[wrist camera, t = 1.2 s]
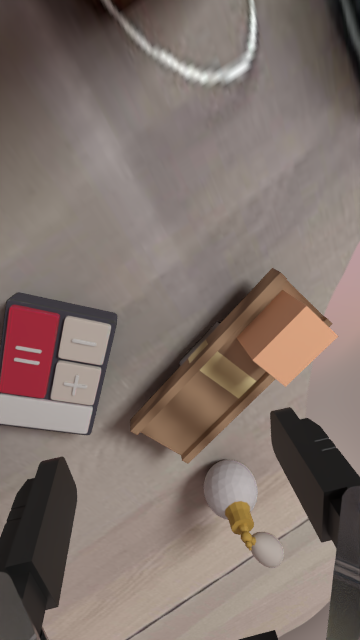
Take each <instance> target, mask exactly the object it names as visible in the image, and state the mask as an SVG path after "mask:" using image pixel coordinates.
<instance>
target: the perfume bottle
mask: <svg viewBox="0 0 360 640" xmlns="http://www.w3.org/2000/svg"><path fill="white" fill-rule="evenodd" d="M257 493H258V490H257V484H256V481H255V478H254V476H253V474H252V473H251V471H250V470H249V469H248V468H247V467H246V466H245V465H244V464H242V463H240V462H238V461H235V460H223V461H219V462H218V463H216V464H214V465H213V466H212V467H211V468H210V470H209V471H208V472H207V475H206V477H205V481H204V496H205V498H206V501H207V504H208V505H209V507H210V508H211V509H212V511H213V512H214V513H216V514H217V515H218V516H220V517H222V518H224V519H228V520H229V523H230V526H231V529H232V531H233V532H234V533H235V534H239V535H240V534H241V539H242V541H243V542H244V543H245V544H246V547H247V548H249V550H251V552H252V554H253V555H254V557H255V558H256V559H257V560H258V561H259V562H260V563H261V564H263V565H264V566H266V567H269V568H275V567H277V566H279V565H280V564H281V563H282V561H283V558H284V550H283V546H282V544H281V542H280V541H279V540H278V539H277V538H276V537H275V536H274V535H272V534H270V533H267V532H257V533H255V534H253V535H252V536H251V534H250V533H249V531H251V529H252V528H253V527H254V522H253V519H252V517H251V514H250V512H251V511H252V510H253V508H254V506H255V503H256V501H257Z"/></svg>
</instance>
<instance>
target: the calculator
mask: <svg viewBox="0 0 360 640" xmlns="http://www.w3.org/2000/svg"><path fill="white" fill-rule="evenodd" d="M116 325H117V314H115V313H113V312H108V311H103V310H99V309H94V308H89V307H85V306H80V305H75V304H71V303H66V302H61V301H57V300H52V299H47V298H43V297H38V296H33V295H29V294H24V293H16V294H15V295H13V296H12V297H11V298H9V299H8V300H7V302H6V309H5V317H4V325H3V333H2V341H1V350H0V425H7V426H15V427H23V428H31V429H40V430H48V431H56V432H64V433H72V434H81V435H90V434H91V432H92V428H93V423H94V419H95V415H96V411H97V406H98V402H99V398H100V393H101V389H102V385H103V381H104V376H105V372H106V368H107V363H108V359H109V355H110V351H111V346H112V342H113V338H114V333H115V329H116Z"/></svg>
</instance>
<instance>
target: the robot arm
mask: <svg viewBox="0 0 360 640" xmlns="http://www.w3.org/2000/svg"><path fill="white" fill-rule="evenodd" d="M270 419H271V440H272V446H273V450H274V453H275V455H276V457H277V459H278V461H279V463H280V465H281V467H282V469H283V471H284V473H285V474H286V476H287V478H288V480H289V482H290V484H291V486H292V488H293V490H294V491H295V493H296V495H297V497H298V499H299V501H300V503H301V505H302V507H303V509H304V510H305V512H306V514H307V516H308V518H309V520H310V522H311V524H312V526H313V527H314V529H315V531H316V533H317V535H318V537H319V539H320V541H321V543H322V542H326V541H330V540H332V541H333V543H334V545H335V547H336V548H337V550H336V559H335V565H334V573H333V583H332V592H331V601H330V610H329V620H328V629H327V638H326V640H360V477H359V476H358V474H357V473H356V472H355V470H354V469H353V468H352V467H351V465H350V464H349V463H348V461H347V460H346V459H345V458H344V456H343V455H342V454H341V452H340V451H339V450H338V449H337V448H336V446H335V445H334V443H333V442H332V441H331V440H330V439H329V437H328V436H327V434H326V433H325V432H324V431H323V429H322V428H321V427H320V426H319V425H317V424H316V423H315V422H313V421H311V420H310V419H308V418H305V419H299V418H298V416H297V415H296V414H295V412H294V411H293V410H292V408H290V407H289V408H284V409H280V410H275V411H271V413H270ZM76 504H77V489H76V485H75V482H74V480H73V477H72V475H71V472H70V470H69V468H68V465H67V463H66V460H65V458H64V457H58V458H54V459H49V460H45V461H42V462H41V463H40V464H39V467H38V470H37V473H36V476H35V478H33V479H28V480H27V481H26V482H25V484H24V485H23V486H22V488H21V489H20V490H19V491H18V493H17V495H16V497H15V500H14V502H13V505H12V508H11V511H10V513H9V516H8V518H7V524H5V526H4V529H3V532H2V534H1V537H0V640H49V639H48V637H47V635H46V633H45V631H44V629H43V627H42V623H43V619H44V614H45V610H48V609H52V608H56V607H58V605H59V599H60V593H61V588H62V582H63V577H64V571H65V565H66V560H67V554H68V549H69V543H70V537H71V532H72V526H73V521H74V515H75V509H76ZM239 640H278V638H277V635H276V632H275V630H273V631H269V632H266V633H262V634H258V635H254V636H251V637H247V638H243V639H239Z"/></svg>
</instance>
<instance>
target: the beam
mask: <svg viewBox="0 0 360 640" xmlns="http://www.w3.org/2000/svg"><path fill="white" fill-rule="evenodd" d="M286 279H287V278H286V277H285V276H284V275H283V274H282V273H281V272H279V271H277V270H275V269H273V268H272V269H271V270H270V271H269V272H268V273H267V274H266V275H265V276H264V277H263V279H262V280H261V281H260V282H259V283H258V284H257V285H256V286H255V287H254V288H253V289H252V290H251V291H250V292H249V294H248V295H247V296H246V297H245V298H244V299H243V300H242V301H241V302H240V303H239V304H238V305H237V306H236V307H235V308H234V310H233V311H232V312H231V313H230V314H229V315H228V316H227V317H226V318H225V319H224V320H223V321H222V322H221V323H219V322H218V321H217V322H216V323H215V324H214V325H213V326H212V328H211V329H210V330H209V331H208V332H207V333H206V334H205V335H204V336H203V337H202V338H201V339H200V340H199V342H198V343H197V344H196V345H195V346H194V347H193V348H192V349H191V350H190V351H189V352H188V353H187V354H186V355H185V357H184V358H183V359H182V360H181V361H180V362H179V363H180V367H179V368H178V369H177V371H176V372H175V373H174V374H173V375H172V376H171V377H170V378H169V379H168V380H167V381H166V382H165V383H164V384H163V385H162V387H161V388H160V389H159V390H158V391H157V392H156V393H155V394H154V395H153V396H152V397H151V398H150V399H149V400H148V402H147V403H146V404H145V405H144V406H143V407H142V408H141V409H140V410H139V411H138V412H137V413H136V414H135V415H134V416H133V418H132V419H131V420H130V431H131V432H133V433H134V434H136V435H138V434H139V433H140V432H141V433H143V434H145V435H146V436H148V437H150V438H152V439H153V440H155V441H157V442H159V443H160V444H162V445H164V446H166V447H167V448H169V449H171V450H173V451H174V452H176V453H178V454H180V455H181V457H182V461H184V462H186V463H189V462H190V461H191V460H192V459H193V458H194V457H195V456H196V455H197V454H199V453H200V452H201V451H202V450H203V449H204V448H205V447H206V446H207V445H208V444H209V443H210V442H211V441H212V440H213V439H214V438H215V437H216V436H217V435H218V434H219V433H220V432H221V431H222V430H223V429H224V428H225V427H226V426H227V425H228V424H229V423H231V422H232V421H233V420H234V419H235V418H236V417H237V416H238V415H239V414H240V413H241V412H242V411H243V410H244V409H245V408H246V407H247V406H248V405H249V404H250V403H251V402H252V401H253V400H254V399H255V398H256V397H257V396H258V395H259V394H260V393H261V392H263V391H264V390H265V389H266V388H267V387H268V386H269V385H270V384H271V383H272V382H273V381H274V380H275V378H274V377H273V376H272V375H270V374H269V373H268V372H267V371H265V370H264V369H263V368H262V367H260V366H259V365H258V364H257V363H255V362H254V361H253V360H252V359H251V358H250V356H249V355H248V353H247V352H246V350H245V349H244V348H243V346H242V345H241V343H240V342H239V341H238V339H237V337H238V336H239V335H240V334H241V332H242V331H243V330H244V329H245V328H246V327H247V326H248V325H249V324H250V323H251V322H252V321H253V320H254V319H255V318H256V317H257V316H258V315H259V314H260V313H261V312H262V311H263V310H264V309H265V308H266V306H267V305H268V304H269V303H270V302H271V301H272V300H273V299H274V298H275V297H276V296H277V295H278V294H279V293H280V292H281V291H282V290H284V291H285V292H287V293H288V294H290V295H291V296H293V297H294V298H296V299H297V300H299V301H300V302H302V303H303V304H305V305H306V306H308V307H309V308H310V309H311V310H312V311H313V312H314V313H315V314H316V315H317V316H318V317H319V318H320V319H321V320H322V321H323V322H324V323H325V324H326V325H327V326H328V327H330V326H331V325H332V323H331V322H330V321H329V320H328V319H327V318H326V317H324V316H323V315H322V314H321V313H320V312H319V311H318V310H317V309H316V308H315V307H314V306H313V305H312V304H311V303H310V302H309V301H308V300H307V299H306V298H305V297H304V296H303V295H301V294H300V293H299V292H298V291H297V290H296V289H295V288H294V287H293V286H292V285H291V284H290V283H289V282H288V281H287V280H286Z"/></svg>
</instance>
